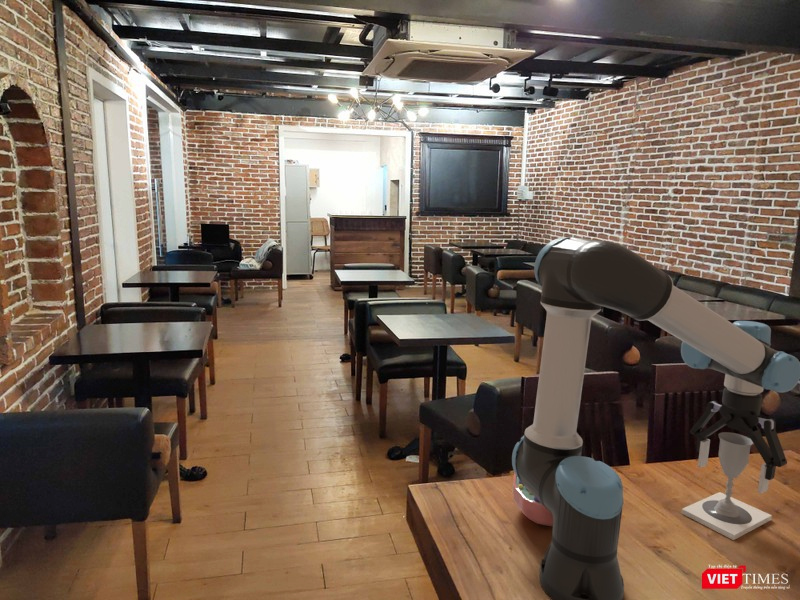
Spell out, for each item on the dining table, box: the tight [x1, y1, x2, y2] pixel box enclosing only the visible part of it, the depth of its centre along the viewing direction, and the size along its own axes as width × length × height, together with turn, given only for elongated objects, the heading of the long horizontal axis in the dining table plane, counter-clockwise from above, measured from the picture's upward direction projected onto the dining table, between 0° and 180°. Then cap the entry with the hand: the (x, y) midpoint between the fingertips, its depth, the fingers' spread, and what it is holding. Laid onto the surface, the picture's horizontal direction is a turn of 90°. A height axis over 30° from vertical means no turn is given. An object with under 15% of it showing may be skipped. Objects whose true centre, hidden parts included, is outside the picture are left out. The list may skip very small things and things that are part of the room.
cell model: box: [512, 472, 553, 528], centre depth 126 cm, size 17×20×11 cm
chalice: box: [714, 431, 754, 518], centre depth 127 cm, size 7×7×18 cm
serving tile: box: [680, 491, 773, 541], centre depth 129 cm, size 16×12×1 cm
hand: (731, 478), depth 127 cm, fingers open, 13 cm apart
